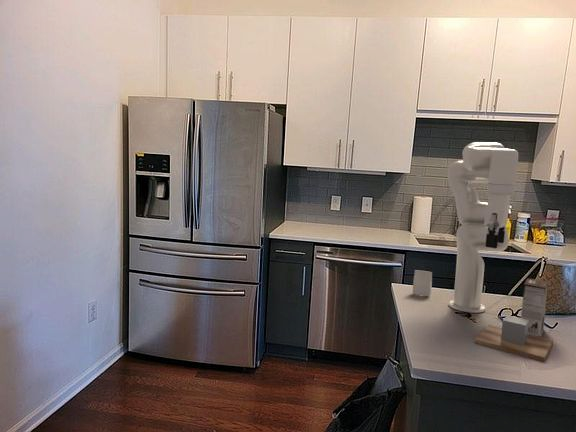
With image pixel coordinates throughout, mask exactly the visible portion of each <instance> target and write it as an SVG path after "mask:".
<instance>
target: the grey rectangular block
mask: <svg viewBox="0 0 576 432" xmlns="http://www.w3.org/2000/svg"><path fill="white" fill-rule="evenodd" d="M412 282H413V283H412V294H417V295H416V296H418V295H423V296H422V297H425V296H428V297H427V298H430V297H431V296H432V284H433V271H426V270H421V269H420V270H417V269H414V276H413V281H412ZM430 295H431V296H430Z"/></svg>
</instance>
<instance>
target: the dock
mask: <svg viewBox="0 0 576 432" xmlns="http://www.w3.org/2000/svg"><path fill="white" fill-rule="evenodd" d="M484 328H485V329H483V330H482V331H481V332H480V333H479V334H478V335H477V336H476V337H475V339H474V343H475V344H478V345H481V346H486V347H489V348H493V349H496V350H499V351H503V352H508V353H510V354H515V355H519V356H522V357H526V358H530V359H533V360H537V361H541V362H545V361H546V358H547V357H548V354H549V352H550V350H551V349H552V346H553V343H554V339H549V338H547V337H546V338H545V337H542V336H541V337H540V336H535V335H531V334H528V337H527V341H526V342H525V344H524V345H520V344H516V343H512V342H508V341H505V340H501V334H502V327H500V326H496V325H492V324H488V325H487V326H486V327H484Z"/></svg>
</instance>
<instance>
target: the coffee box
mask: <svg viewBox="0 0 576 432" xmlns="http://www.w3.org/2000/svg"><path fill="white" fill-rule="evenodd" d="M548 291H549V281H546V280H545V281H543V280H540V279H535V278H526V280H525V282H524V285H523V294H522V295H523V296H522V301H521V302H522V304H521V313H520V318H522V319H527V320H529V327H528V334H529V335H534V336H538V337H542V335H543V332H544V328H545V319H546V310H547V308H546V307H547V301H548V293H549V292H548Z"/></svg>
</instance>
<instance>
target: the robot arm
mask: <svg viewBox="0 0 576 432" xmlns="http://www.w3.org/2000/svg"><path fill="white" fill-rule="evenodd" d="M518 163H519V152H518V150H516V149H511V148H505V146H504V145H503V144H502V143H499V142H481V141H480V142H478V141H476V142H475V141H474V142H471V143H468V144H467V145H465V147H464V148H463V149H462V160H458V161H455V162H452V163H451V164H450V165H449V166H448V170H447V180H448V181H447V182H448V185H449V188H450V190H451V193H452V194H453V196H454V199H455V206H456V207H455V208H456V213H457V215H456V216H457V220H458V222H459V224H461V225H460V226H459V227H457V230H456V238H455V239H456V266H455V278H454V279H455V280H454V289H453V290H454V292H453V299H452V300H450V301H448V306H449V307H450V308H451V309H454V310H457V311H460V312H463V313H464V312H465V313H474V314H479V313H483V312H485V310H486V306H485V305H484V304H482V296H483V286H484V285H483V284H484V276H485V275H484V274H485V273H484V272H485V262H484V259H483V257H482V256H481V255H480V254H479V252H482V251H483V252H497V253H498V252H503V251H505V250H506V249H507V248H508V245H509V233H508V229H507V228H508V227H507V223H508V219H509V210H510V201H511V197H514V196H515V191H516V182H517V181H516V180H517V171H518V165H519V164H518ZM469 183H480V184H487V189H486V195H488V198H487V202H481V201H480V199H479V194H478V192H477V191H476V189H475V188H474V187H473V186H471V184H469Z"/></svg>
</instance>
